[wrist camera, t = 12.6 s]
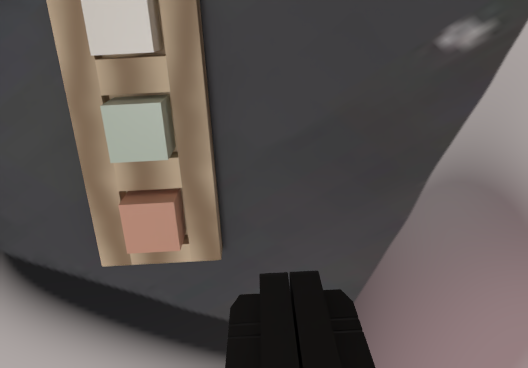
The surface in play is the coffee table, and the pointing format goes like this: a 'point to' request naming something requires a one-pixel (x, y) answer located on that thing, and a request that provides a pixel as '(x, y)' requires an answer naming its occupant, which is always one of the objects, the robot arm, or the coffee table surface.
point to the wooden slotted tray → (183, 117)
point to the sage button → (138, 128)
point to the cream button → (122, 26)
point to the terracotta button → (153, 220)
